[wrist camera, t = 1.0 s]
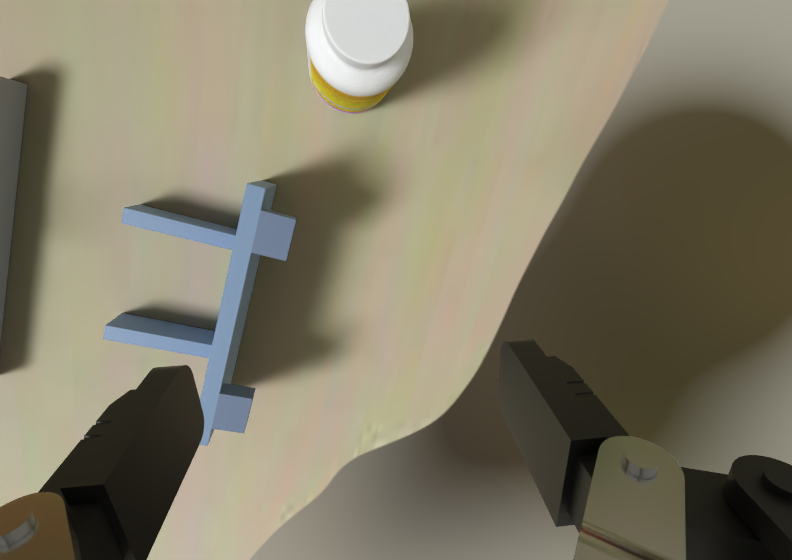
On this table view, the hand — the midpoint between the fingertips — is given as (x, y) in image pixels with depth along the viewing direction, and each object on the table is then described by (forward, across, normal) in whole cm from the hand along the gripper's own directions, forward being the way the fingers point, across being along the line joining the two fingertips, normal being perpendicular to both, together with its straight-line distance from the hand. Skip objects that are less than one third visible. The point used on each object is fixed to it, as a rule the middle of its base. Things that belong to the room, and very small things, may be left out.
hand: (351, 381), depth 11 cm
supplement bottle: (+29, 0, -9) cm, 31 cm away
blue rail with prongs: (+26, +13, +7) cm, 30 cm away
